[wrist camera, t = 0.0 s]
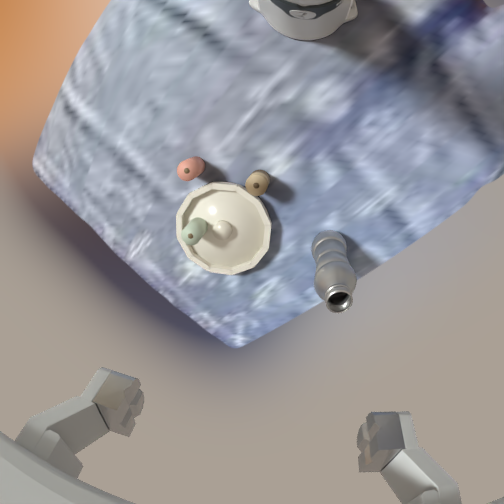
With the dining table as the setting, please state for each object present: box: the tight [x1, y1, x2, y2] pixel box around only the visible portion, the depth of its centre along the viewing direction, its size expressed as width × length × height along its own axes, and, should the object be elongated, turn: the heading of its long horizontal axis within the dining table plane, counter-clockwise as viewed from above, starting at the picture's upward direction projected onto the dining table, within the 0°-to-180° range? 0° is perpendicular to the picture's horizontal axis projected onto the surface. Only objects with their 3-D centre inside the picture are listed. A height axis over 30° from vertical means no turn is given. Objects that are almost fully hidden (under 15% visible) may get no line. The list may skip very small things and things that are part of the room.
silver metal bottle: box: [311, 230, 357, 313], centre depth 48 cm, size 6×7×20 cm
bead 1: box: [177, 157, 205, 181], centre depth 52 cm, size 4×4×5 cm
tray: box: [176, 181, 272, 275], centre depth 58 cm, size 18×18×2 cm
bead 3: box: [245, 170, 270, 196], centre depth 52 cm, size 4×4×5 cm
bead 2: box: [181, 217, 208, 245], centre depth 56 cm, size 4×4×5 cm
